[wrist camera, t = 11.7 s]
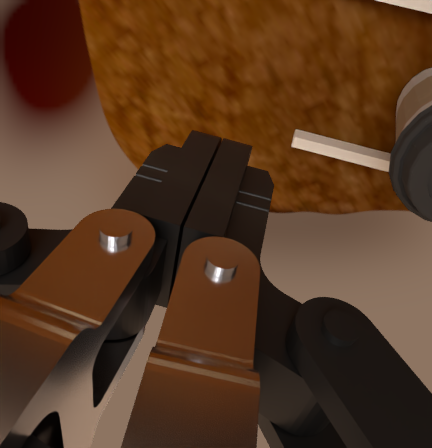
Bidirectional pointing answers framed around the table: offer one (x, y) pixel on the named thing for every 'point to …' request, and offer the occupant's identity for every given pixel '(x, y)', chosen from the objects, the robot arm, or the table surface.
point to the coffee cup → (414, 146)
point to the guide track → (417, 0)
